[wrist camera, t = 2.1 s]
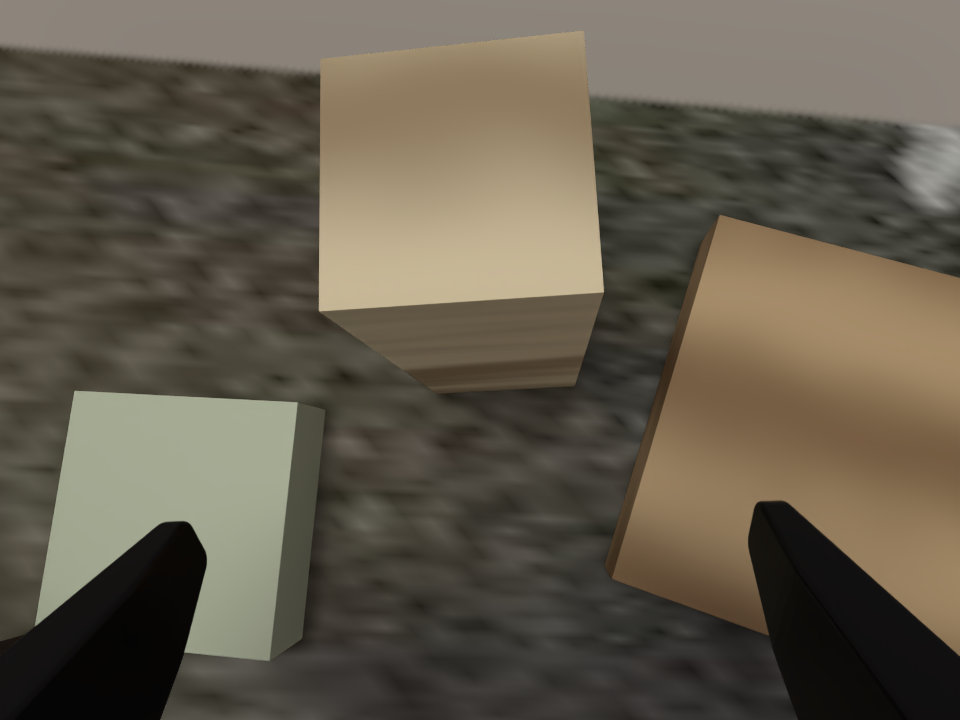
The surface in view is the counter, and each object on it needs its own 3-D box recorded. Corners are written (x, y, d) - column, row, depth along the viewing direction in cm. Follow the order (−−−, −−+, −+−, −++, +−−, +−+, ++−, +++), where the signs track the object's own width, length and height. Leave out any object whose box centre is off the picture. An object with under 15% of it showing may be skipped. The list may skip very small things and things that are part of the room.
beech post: (574, 386, 22) (603, 292, 11) (436, 393, 23) (319, 311, 11) (565, 252, 23) (583, 30, 12) (432, 262, 24) (320, 58, 12)
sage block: (305, 636, 22) (269, 661, 19) (98, 615, 23) (33, 636, 20) (329, 410, 24) (297, 402, 21) (131, 400, 25) (74, 391, 22)
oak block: (971, 696, 20) (1044, 735, 17) (603, 564, 22) (611, 578, 19) (1047, 342, 21) (1126, 322, 19) (698, 247, 23) (719, 214, 20)
